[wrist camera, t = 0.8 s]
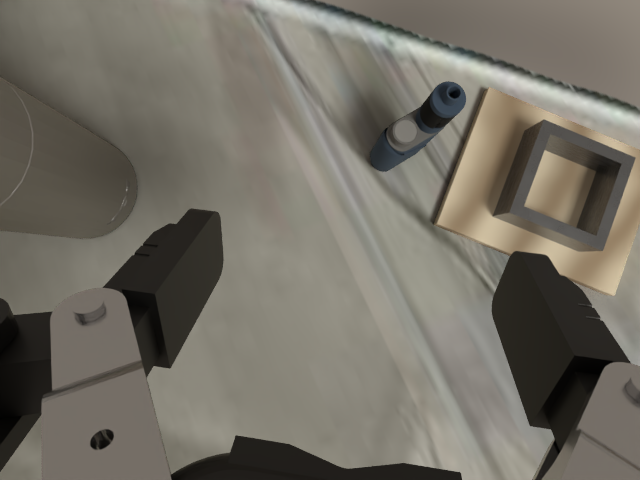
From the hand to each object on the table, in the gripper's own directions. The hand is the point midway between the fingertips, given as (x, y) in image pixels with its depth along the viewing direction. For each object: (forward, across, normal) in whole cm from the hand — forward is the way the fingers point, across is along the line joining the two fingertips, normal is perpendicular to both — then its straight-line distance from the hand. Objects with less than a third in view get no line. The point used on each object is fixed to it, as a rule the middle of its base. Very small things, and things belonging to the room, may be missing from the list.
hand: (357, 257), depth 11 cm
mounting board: (+28, -18, +9) cm, 34 cm away
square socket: (+28, -18, +9) cm, 34 cm away
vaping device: (+28, -3, +7) cm, 29 cm away
